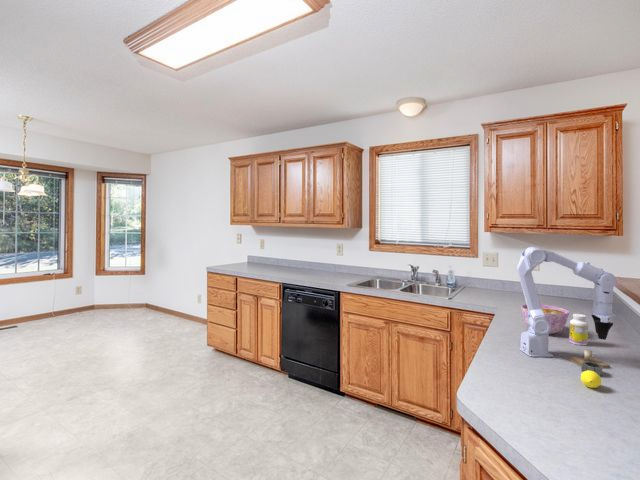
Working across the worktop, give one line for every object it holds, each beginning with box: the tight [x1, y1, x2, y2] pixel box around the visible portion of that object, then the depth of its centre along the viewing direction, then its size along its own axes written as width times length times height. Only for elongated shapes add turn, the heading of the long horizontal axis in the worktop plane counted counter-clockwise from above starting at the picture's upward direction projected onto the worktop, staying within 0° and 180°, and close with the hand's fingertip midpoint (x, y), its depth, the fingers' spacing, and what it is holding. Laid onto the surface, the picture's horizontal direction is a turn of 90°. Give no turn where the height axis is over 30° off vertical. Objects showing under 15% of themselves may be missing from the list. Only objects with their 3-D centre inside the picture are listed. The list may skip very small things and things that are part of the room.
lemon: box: [580, 370, 602, 389], centre depth 112 cm, size 7×5×5 cm
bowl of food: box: [520, 303, 570, 335], centre depth 168 cm, size 20×20×12 cm
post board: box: [566, 349, 611, 369], centre depth 130 cm, size 10×8×5 cm
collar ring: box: [580, 361, 603, 377], centre depth 123 cm, size 6×6×3 cm
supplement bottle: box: [568, 313, 589, 346], centre depth 152 cm, size 7×7×13 cm
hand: (600, 336), depth 133 cm, fingers open, 7 cm apart
